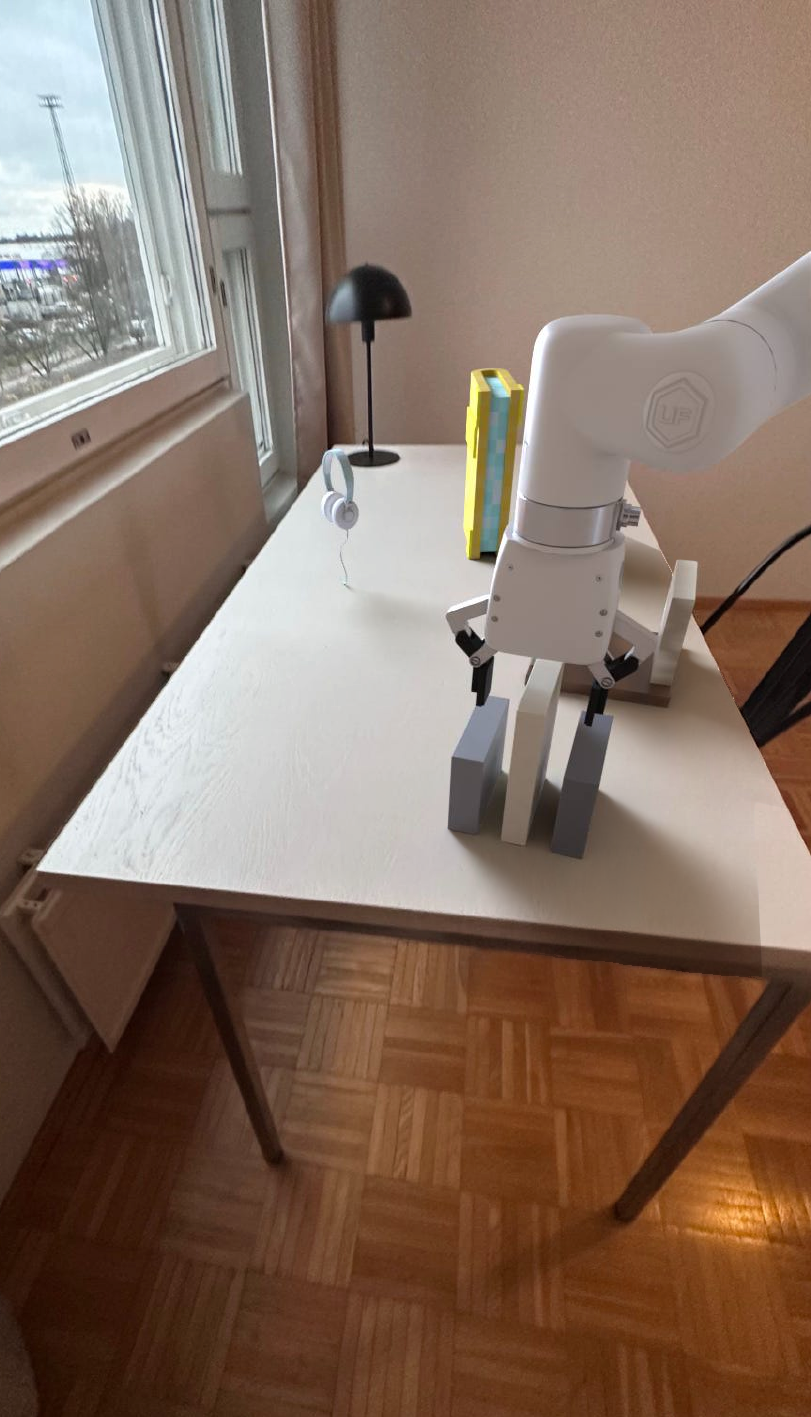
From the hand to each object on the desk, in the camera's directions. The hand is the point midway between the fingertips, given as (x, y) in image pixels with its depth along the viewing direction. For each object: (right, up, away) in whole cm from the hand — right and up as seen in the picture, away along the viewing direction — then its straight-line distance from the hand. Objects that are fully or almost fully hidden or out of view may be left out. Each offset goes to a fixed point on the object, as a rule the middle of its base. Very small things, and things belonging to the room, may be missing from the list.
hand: (535, 708), depth 64 cm
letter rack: (+16, +9, +28) cm, 33 cm away
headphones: (-19, +27, +50) cm, 60 cm away
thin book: (+1, -9, +8) cm, 12 cm away
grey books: (+1, -9, +8) cm, 12 cm away
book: (+6, +38, +62) cm, 73 cm away
